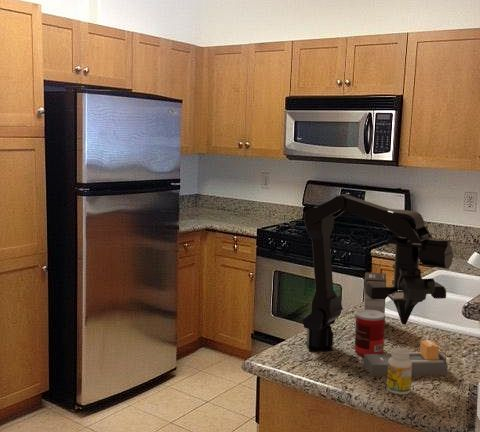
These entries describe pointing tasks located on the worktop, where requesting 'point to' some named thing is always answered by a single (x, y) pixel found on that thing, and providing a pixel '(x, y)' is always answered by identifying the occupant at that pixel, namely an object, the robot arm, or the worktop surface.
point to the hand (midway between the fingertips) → (403, 323)
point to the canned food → (369, 332)
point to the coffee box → (374, 303)
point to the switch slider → (429, 350)
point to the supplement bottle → (399, 372)
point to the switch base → (420, 365)
